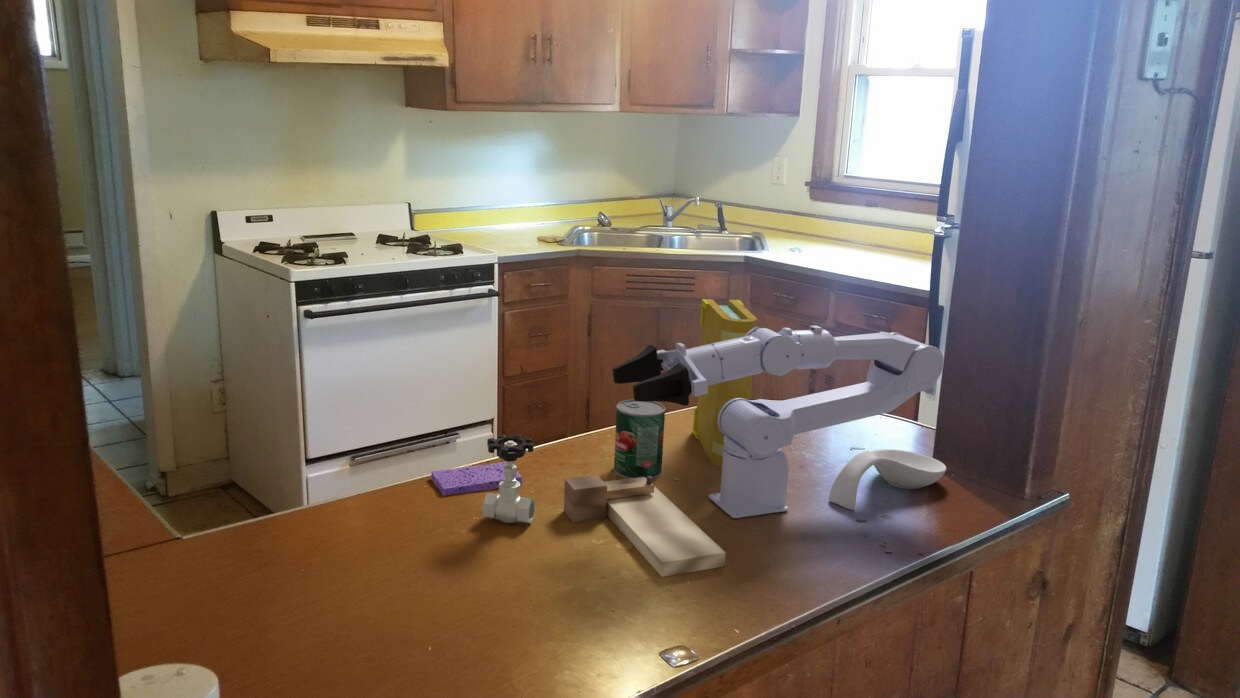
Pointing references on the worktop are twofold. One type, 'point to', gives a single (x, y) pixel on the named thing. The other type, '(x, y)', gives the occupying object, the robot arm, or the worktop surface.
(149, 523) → the worktop surface
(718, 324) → the book
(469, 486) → the sponges
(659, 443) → the canned tomato
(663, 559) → the board
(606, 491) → the mallet
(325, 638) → the worktop surface
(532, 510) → the valve
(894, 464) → the spoon rest
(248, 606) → the worktop surface
